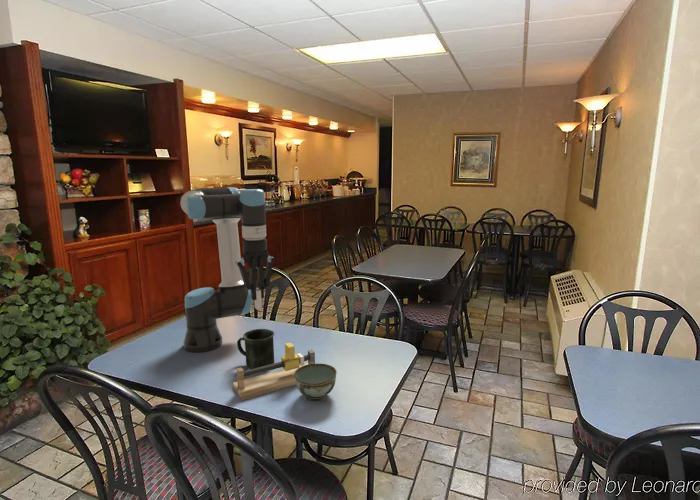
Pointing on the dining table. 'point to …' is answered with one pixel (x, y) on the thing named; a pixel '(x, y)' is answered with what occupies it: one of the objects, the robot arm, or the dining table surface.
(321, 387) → the bowl
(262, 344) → the mug
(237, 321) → the dining table surface
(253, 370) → the rod
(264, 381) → the wooden slider rail
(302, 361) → the band
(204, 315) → the robot arm
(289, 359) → the sleeve
